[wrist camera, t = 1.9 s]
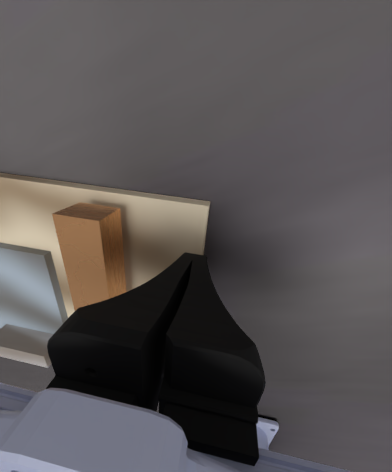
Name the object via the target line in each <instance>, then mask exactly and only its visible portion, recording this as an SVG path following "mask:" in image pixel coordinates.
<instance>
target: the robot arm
mask: <svg viewBox="0 0 392 472" xmlns="http://www.w3.org/2000/svg"><path fill="white" fill-rule="evenodd" d="M47 350H48V355H49V358H50V361H51V363H52V366H53V369H54V372H55V374H56V376H55V377H54V379H53V380H52V381H51V383H50V384H49V385H48V387H47V388H46V389H45V390H43V391H41V392H36V391H32V390H28V389H24V388H20V387H16V386H12V385H8V384H4V383H0V472H352V471H349V470H345V469H341V468H337V467H333V466H329V465H325V464H321V463H317V462H313V461H309V460H305V459H301V458H297V457H293V456H289V455H285V454H281V453H277V452H273V451H269V448H268V446H269V444H270V443H271V441H272V439H273V438H274V436H275V434H276V432H277V431H278V429H279V424H278V422H276V421H273V420H269V419H265V418H261V417H258V412H257V405H258V403H259V400H260V398H261V396H262V394H263V391H264V388H265V376H264V371H263V367H262V363H261V360H260V356H259V353H258V350H257V348H256V345H255V343H254V342H253V341H252V340H251V339H250V338H249V337H248V336H247V335H246V334H245V333H244V332H243V331H242V330H241V328H240V327H239V326H238V325H237V324H236V322H235V321H234V320H233V318H232V317H231V315H230V314H229V312H228V311H227V310H226V308H225V306H224V305H223V303H222V301H221V300H220V298H219V296H218V294H217V292H216V290H215V287H214V285H213V282H212V280H211V277H210V273H209V270H208V265H207V257H206V256H205V255H199V254H193V253H187V252H185V253H183V254H182V255H181V256H180V257H179V258H178V259H177V260H176V261H175V262H173V263H172V264H171V265H170V266H169V267H167V268H166V269H165V270H164V271H162V272H161V273H159V274H158V275H157V276H155V277H154V278H152V279H151V280H149V281H147V282H146V283H144V284H142V285H140V286H138V287H136V288H134V289H132V290H130V291H128V292H125V293H123V294H121V295H118V296H115V297H113V298H110V299H107V300H104V301H101V302H97V303H94V304H90V305H87V306H83V307H79V308H78V309H77V310H76V311H75V312H74V313H73V314H72V315H71V316H70V317H69V318H68V319H67V320H66V321H65V322H64V323H63V324H62V325H61V327H60V328H59V329H58V330H57V331H56V332H55V333H54V334H53V335H52V337H51V338H50V339H49V340H48V344H47ZM158 402H159V413H157V412H156V411H157V406H158Z"/></svg>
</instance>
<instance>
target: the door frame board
mask: <svg viewBox="0 0 392 472" xmlns="http://www.w3.org/2000/svg"><path fill="white" fill-rule="evenodd" d="M79 202H82V203H88V204H95V205H102V206H109V207H116V208H120V213H121V226H122V239H123V253H124V266H125V279H126V292H128V291H130V290H132V289H134V288H136V287H138V286H140V285H142V284H144V283H146V282H147V281H149V280H151V279H152V278H154V277H155V276H157V275H158V274H159V273H161V272H162V271H164V270H165V269H166V268H167V267H169V266H170V265H171V264H172V263H173V262H175V261H176V260H177V259H178V258H179V257H180V256H181V255H182V254H183V253H185V252H187V253H193V254H199V255H204V247H205V240H206V232H207V224H208V217H209V209H210V201H204V200H197V199H189V198H182V197H175V196H167V195H160V194H153V193H145V192H138V191H131V190H123V189H116V188H109V187H101V186H94V185H87V184H79V183H72V182H65V181H57V180H50V179H43V178H35V177H28V176H21V175H13V174H6V173H0V356H1V357H5V358H9V359H13V360H18V361H22V362H26V363H30V364H34V365H39V366H43V367H47V368H48V367H49V366H50V365H51V361H50V358H49V355H48V350H47V344H48V340H49V339H50V338H51V337H52V335H53V334H54V333H55V332H56V331H57V330H58V329H59V328H60V327H61V325H62V324H63V323H64V322H65V321H66V320H67V319H68V318H69V317H70V316H71V315H72V314H73V313H74V312H75V310H74V306H73V302H72V297H71V293H70V289H69V285H68V280H67V276H66V272H65V268H64V263H63V259H62V255H61V251H60V246H59V242H58V238H57V234H56V229H55V225H54V221H53V216H52V213H55V212H57V211H60V210H62V209H65V208H67V207H70V206H72V205H75V204H77V203H79Z"/></svg>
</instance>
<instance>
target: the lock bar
mask: <svg viewBox="0 0 392 472" xmlns="http://www.w3.org/2000/svg"><path fill="white" fill-rule="evenodd" d="M52 216H53V221H54V225H55V229H56V234H57V238H58V242H59V246H60V251H61V255H62V259H63V263H64V268H65V272H66V276H67V280H68V285H69V289H70V293H71V297H72V302H73V306H74V310H75V311H76V310H77V309H78V308H79V307H83V306H87V305H90V304H94V303H97V302H101V301H104V300H107V299H110V298H113V297H115V296H118V295H121V294H123V293H125V292H126V279H125V266H124V253H123V239H122V226H121V213H120V208H116V207H109V206H102V205H95V204H88V203H82V202H79V203H77V204H75V205H72V206H70V207H67V208H65V209H62V210H60V211H57V212H55V213H52Z"/></svg>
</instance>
